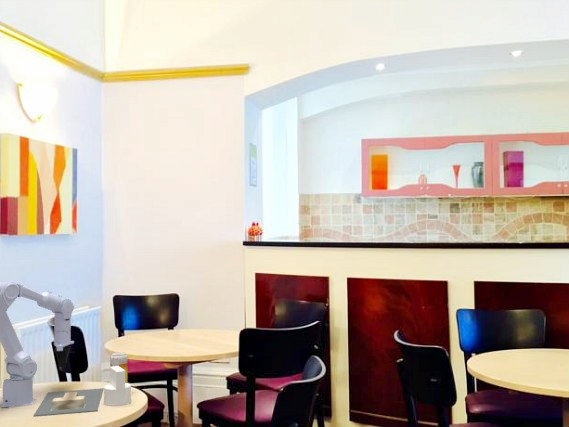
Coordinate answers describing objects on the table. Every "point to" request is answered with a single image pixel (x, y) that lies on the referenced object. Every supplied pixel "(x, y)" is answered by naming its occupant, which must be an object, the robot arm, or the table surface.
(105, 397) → the cylinder with rectangular tab
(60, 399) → the t block
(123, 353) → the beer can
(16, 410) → the table surface
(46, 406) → the mat
